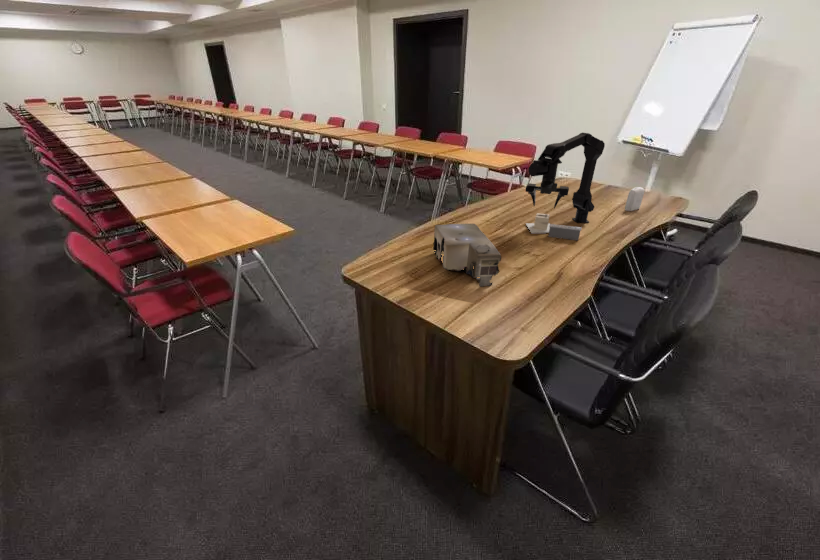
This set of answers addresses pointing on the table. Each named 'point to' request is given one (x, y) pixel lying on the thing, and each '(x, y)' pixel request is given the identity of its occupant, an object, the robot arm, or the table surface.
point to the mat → (532, 230)
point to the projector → (467, 251)
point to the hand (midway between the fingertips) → (544, 207)
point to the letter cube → (541, 221)
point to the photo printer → (634, 199)
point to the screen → (564, 231)
